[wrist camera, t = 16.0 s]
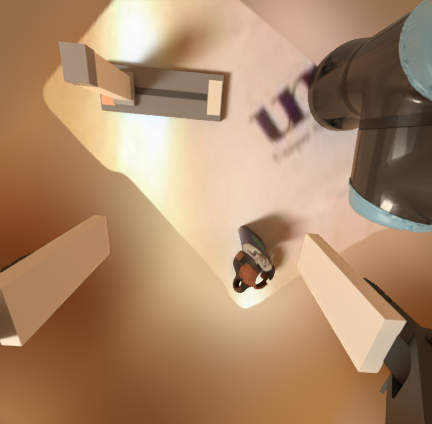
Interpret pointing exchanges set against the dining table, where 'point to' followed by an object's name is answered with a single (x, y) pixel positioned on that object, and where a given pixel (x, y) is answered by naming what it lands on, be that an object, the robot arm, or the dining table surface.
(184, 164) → the dining table surface
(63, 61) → the lever
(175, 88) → the switch board
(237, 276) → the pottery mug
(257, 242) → the flask
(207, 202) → the dining table surface
